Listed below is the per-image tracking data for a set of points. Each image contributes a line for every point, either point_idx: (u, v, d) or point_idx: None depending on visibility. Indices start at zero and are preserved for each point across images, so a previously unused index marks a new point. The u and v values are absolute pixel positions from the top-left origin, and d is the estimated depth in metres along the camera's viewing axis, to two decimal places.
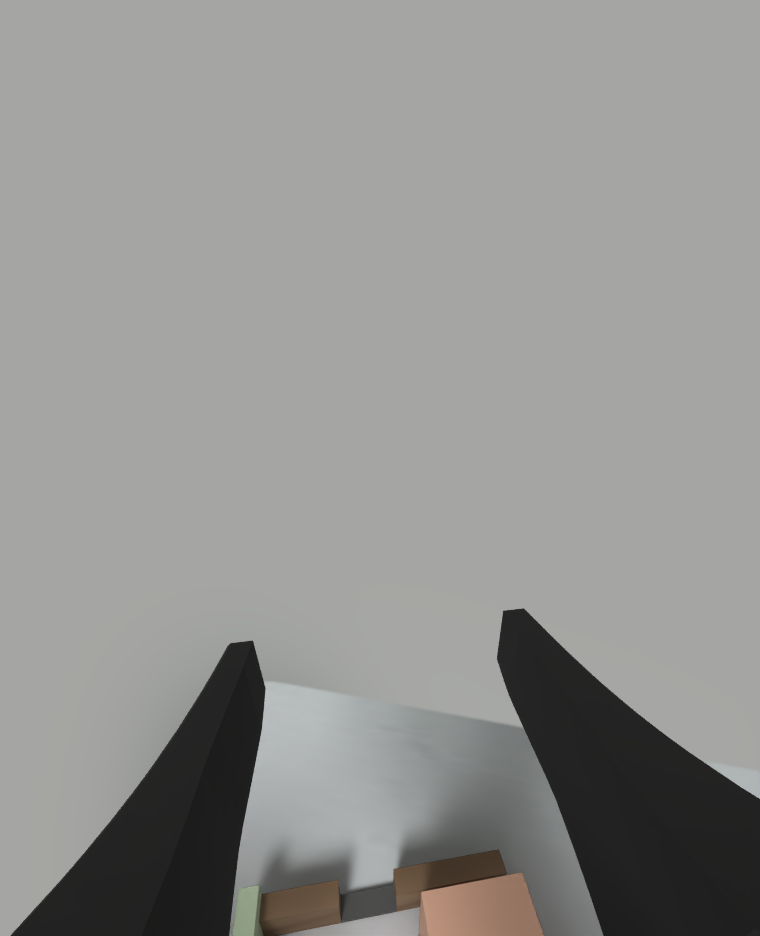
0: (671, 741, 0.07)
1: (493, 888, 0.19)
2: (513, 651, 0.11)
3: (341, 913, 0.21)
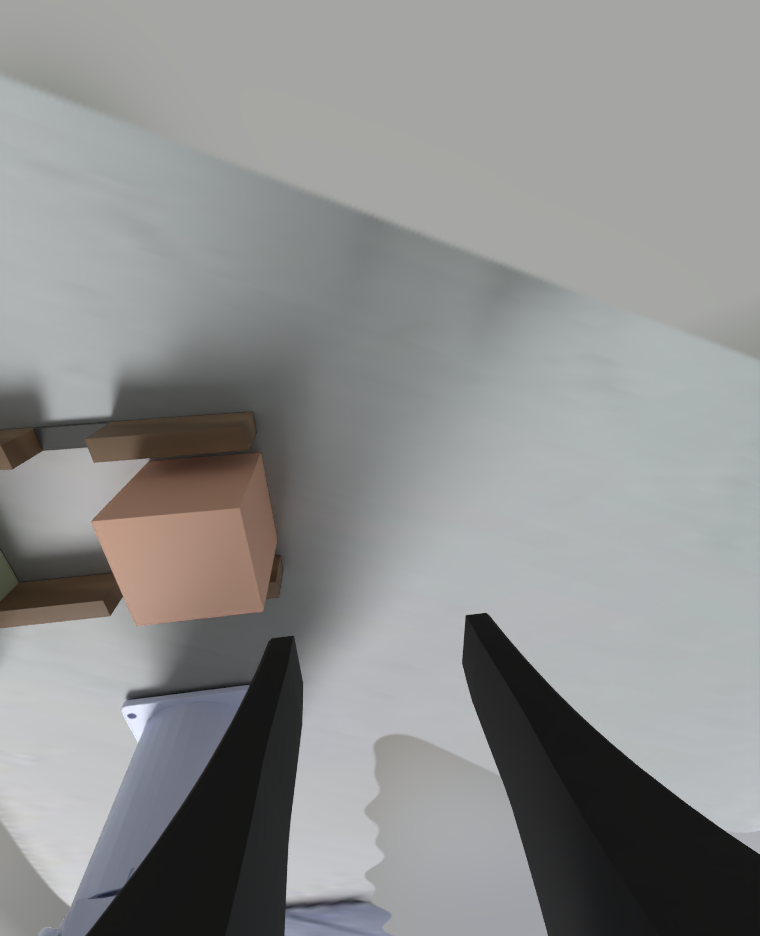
0: (615, 750, 0.07)
1: (195, 520, 0.14)
2: (474, 656, 0.11)
3: (39, 446, 0.17)
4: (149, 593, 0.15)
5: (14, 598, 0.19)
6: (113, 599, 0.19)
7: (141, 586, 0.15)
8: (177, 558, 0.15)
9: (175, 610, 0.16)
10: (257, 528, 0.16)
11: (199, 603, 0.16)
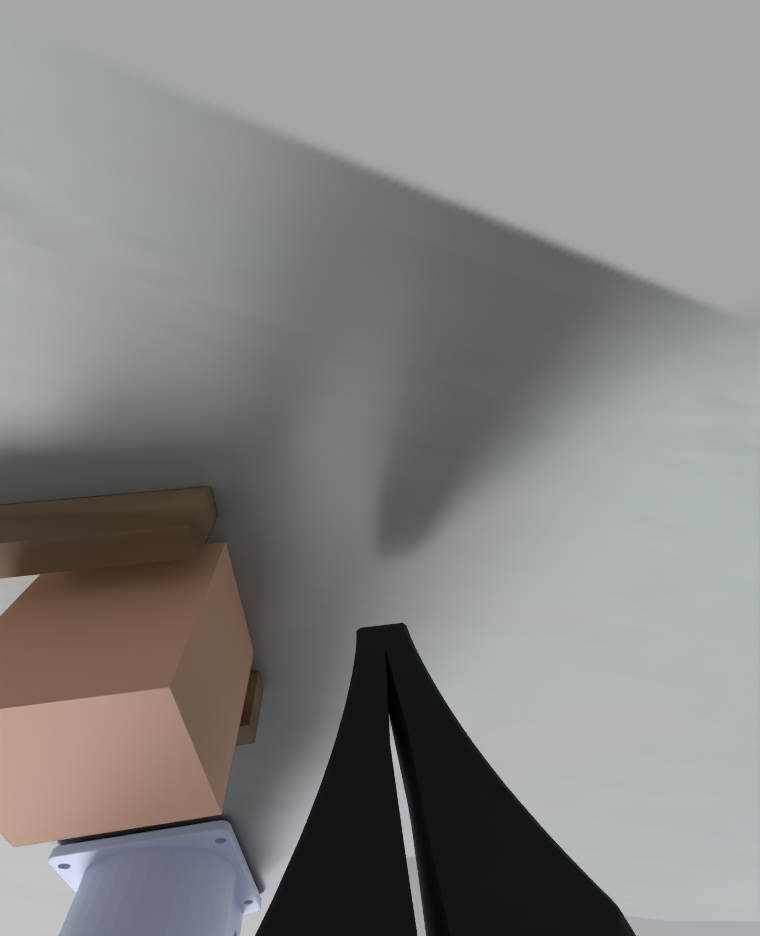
0: (487, 769, 0.07)
1: (92, 709, 0.08)
2: (385, 667, 0.10)
3: None
4: (27, 807, 0.09)
5: None
6: None
7: (12, 800, 0.09)
8: (69, 760, 0.09)
9: (76, 824, 0.10)
10: (213, 678, 0.10)
11: (115, 812, 0.10)
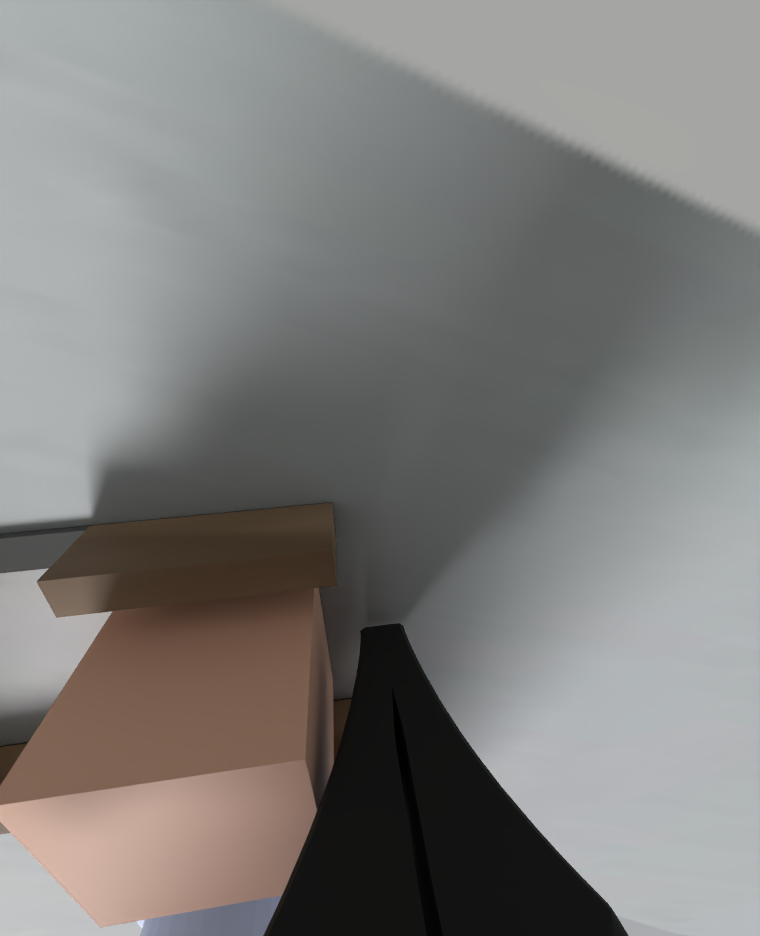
0: (482, 770, 0.07)
1: (212, 785, 0.07)
2: None
3: None
4: (122, 888, 0.08)
5: None
6: None
7: (106, 881, 0.08)
8: (176, 840, 0.07)
9: (173, 902, 0.08)
10: (321, 729, 0.09)
11: (218, 888, 0.08)
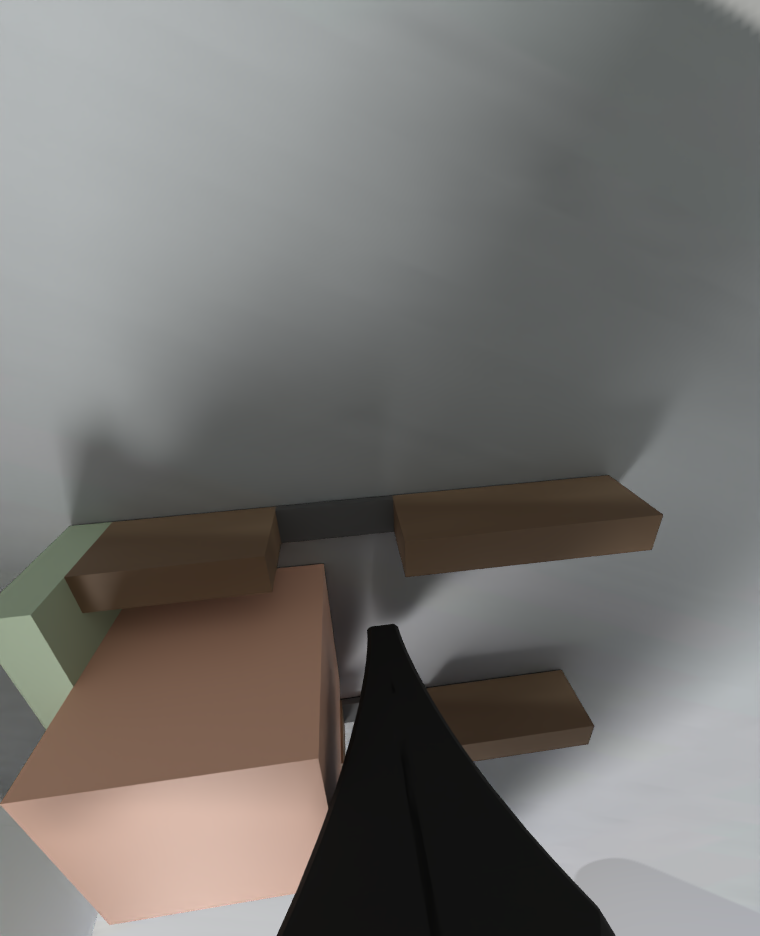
0: (474, 771, 0.07)
1: (225, 784, 0.07)
2: None
3: (280, 537, 0.10)
4: (133, 886, 0.08)
5: None
6: (344, 750, 0.13)
7: (116, 879, 0.08)
8: (187, 838, 0.07)
9: (183, 900, 0.08)
10: (330, 728, 0.09)
11: (228, 887, 0.08)
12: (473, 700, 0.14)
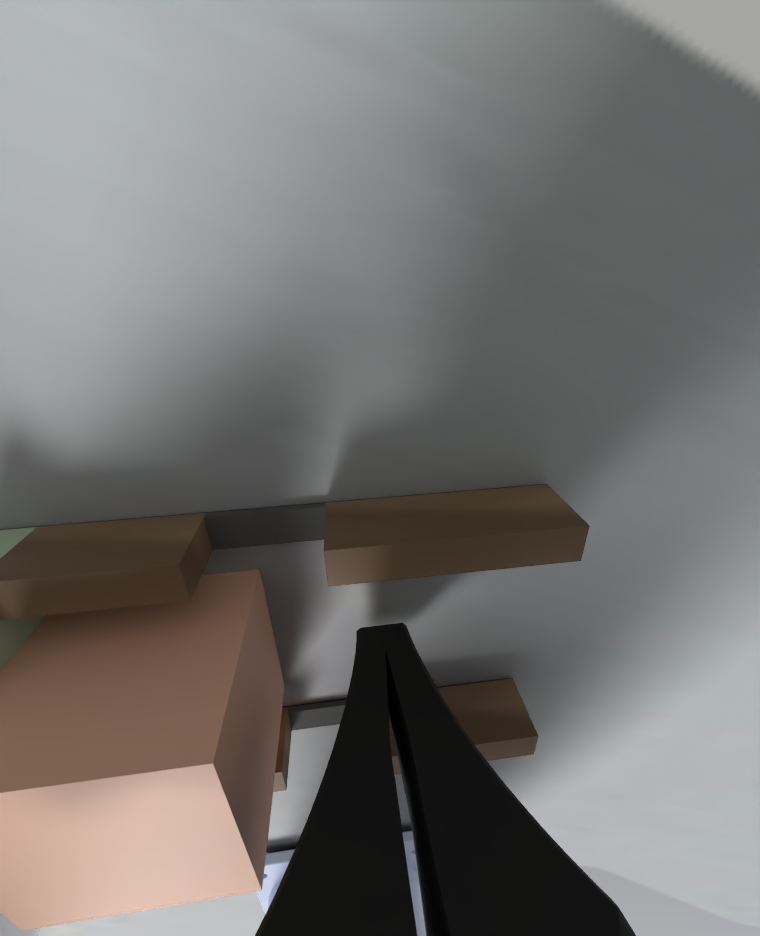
0: (487, 769, 0.07)
1: (119, 788, 0.07)
2: (385, 667, 0.10)
3: (210, 544, 0.10)
4: (39, 891, 0.08)
5: None
6: (286, 758, 0.13)
7: (21, 884, 0.08)
8: (89, 842, 0.07)
9: (95, 905, 0.08)
10: (252, 732, 0.09)
11: (140, 892, 0.08)
12: None
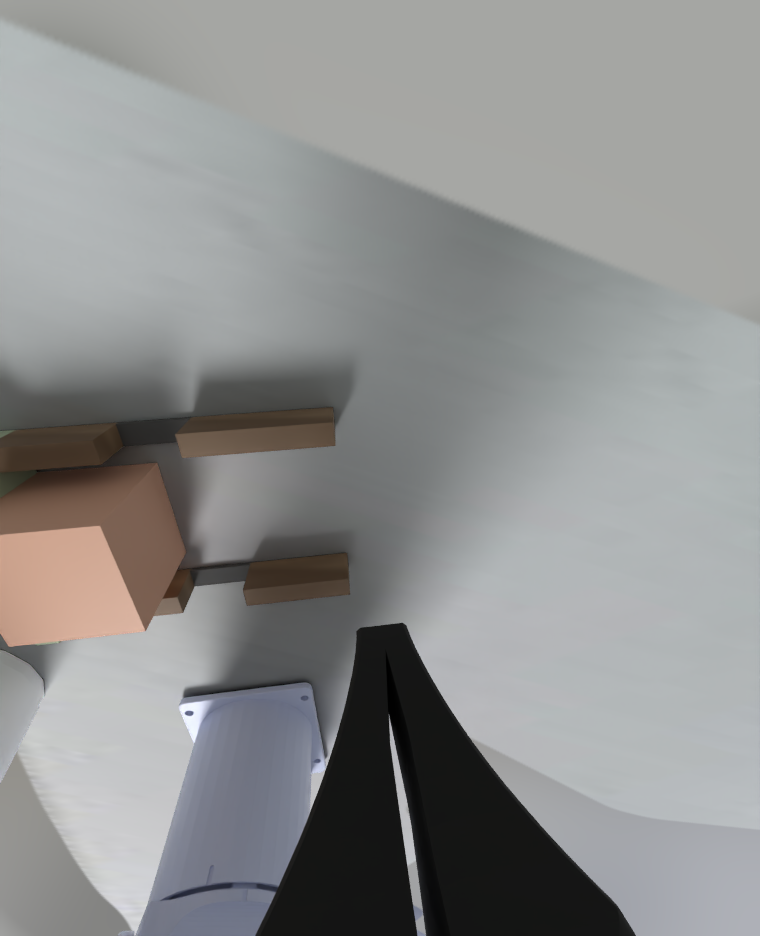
0: (487, 769, 0.07)
1: (53, 539, 0.13)
2: (385, 667, 0.10)
3: (121, 441, 0.17)
4: (17, 613, 0.14)
5: None
6: (185, 595, 0.19)
7: (7, 606, 0.14)
8: (41, 578, 0.14)
9: (49, 630, 0.15)
10: (140, 543, 0.16)
11: (74, 622, 0.15)
12: (278, 567, 0.20)
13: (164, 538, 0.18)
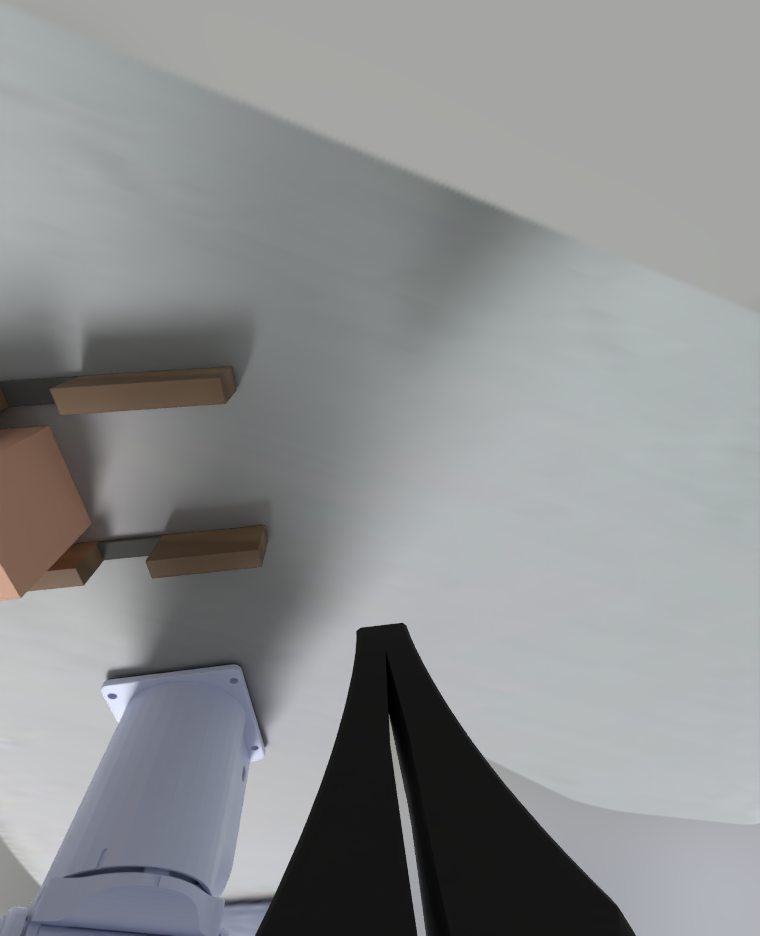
0: (487, 769, 0.07)
1: None
2: (385, 667, 0.10)
3: (5, 401, 0.16)
4: None
5: None
6: (87, 568, 0.18)
7: None
8: None
9: None
10: (17, 506, 0.15)
11: None
12: (189, 540, 0.19)
13: (57, 505, 0.17)
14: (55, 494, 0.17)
